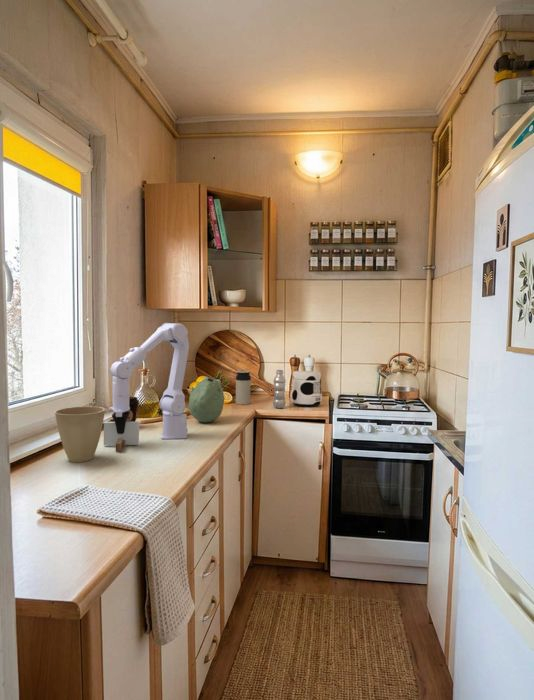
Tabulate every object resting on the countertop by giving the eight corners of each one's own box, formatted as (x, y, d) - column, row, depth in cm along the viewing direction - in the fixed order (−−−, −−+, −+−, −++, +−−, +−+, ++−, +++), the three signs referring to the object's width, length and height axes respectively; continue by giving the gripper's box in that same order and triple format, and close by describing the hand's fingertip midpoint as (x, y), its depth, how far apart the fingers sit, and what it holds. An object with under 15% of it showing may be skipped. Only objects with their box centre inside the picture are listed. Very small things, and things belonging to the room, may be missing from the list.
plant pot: (108, 451, 162) (108, 405, 161) (100, 465, 147) (100, 414, 146) (61, 453, 159) (61, 406, 158) (49, 466, 145) (49, 415, 144)
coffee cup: (132, 431, 191) (132, 399, 190) (113, 430, 193) (113, 398, 192) (142, 426, 200) (142, 396, 199) (123, 425, 201) (123, 395, 201)
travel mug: (238, 405, 255) (239, 371, 254) (233, 402, 262) (234, 370, 261) (252, 404, 258) (252, 371, 257) (247, 402, 265) (247, 370, 264)
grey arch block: (138, 443, 172) (139, 421, 171) (138, 444, 170) (138, 422, 170) (104, 443, 170) (104, 421, 169) (103, 445, 168) (103, 422, 167)
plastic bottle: (286, 407, 251) (287, 370, 250) (283, 409, 245) (283, 371, 243) (275, 406, 253) (276, 369, 252) (271, 408, 247) (271, 370, 245)
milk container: (291, 401, 270) (292, 370, 269) (322, 403, 267) (323, 371, 266) (288, 407, 253) (289, 373, 251) (321, 408, 250) (322, 374, 249)
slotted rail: (125, 439, 179) (125, 431, 179) (120, 452, 161) (120, 443, 161) (121, 439, 179) (121, 431, 178) (115, 452, 161) (115, 443, 161)
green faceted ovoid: (182, 425, 204) (182, 379, 202) (196, 416, 222) (196, 374, 221) (217, 427, 201) (218, 380, 200) (228, 418, 220) (229, 375, 218)
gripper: (111, 392, 175) (111, 428, 176) (106, 398, 161) (106, 438, 162) (131, 392, 176) (131, 428, 177) (128, 398, 162) (127, 437, 163)
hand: (121, 432), depth 170 cm, fingers closed on grey arch block, 2 cm apart
